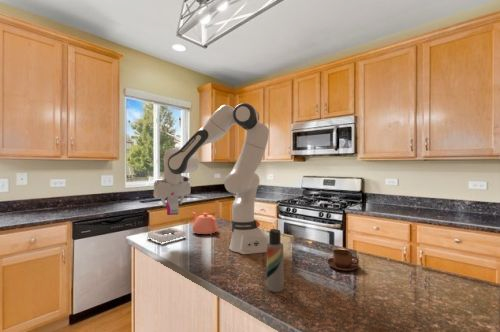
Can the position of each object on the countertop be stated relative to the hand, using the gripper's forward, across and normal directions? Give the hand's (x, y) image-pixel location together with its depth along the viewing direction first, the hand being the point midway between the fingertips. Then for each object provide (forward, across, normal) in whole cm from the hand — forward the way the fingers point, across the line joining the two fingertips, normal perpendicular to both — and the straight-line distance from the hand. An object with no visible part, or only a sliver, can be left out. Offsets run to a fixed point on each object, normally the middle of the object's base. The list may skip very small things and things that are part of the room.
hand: (172, 205), depth 136 cm
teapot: (+21, +26, +7) cm, 34 cm away
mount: (+21, +3, +12) cm, 25 cm away
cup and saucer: (+21, +30, -79) cm, 87 cm away
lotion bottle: (+21, -3, -69) cm, 73 cm away
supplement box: (+5, 0, 0) cm, 5 cm away
